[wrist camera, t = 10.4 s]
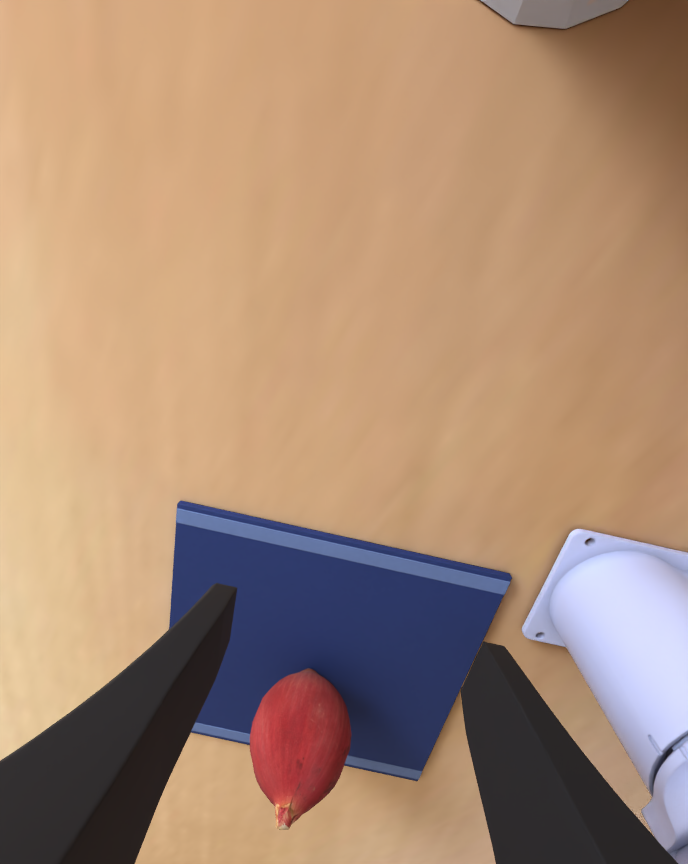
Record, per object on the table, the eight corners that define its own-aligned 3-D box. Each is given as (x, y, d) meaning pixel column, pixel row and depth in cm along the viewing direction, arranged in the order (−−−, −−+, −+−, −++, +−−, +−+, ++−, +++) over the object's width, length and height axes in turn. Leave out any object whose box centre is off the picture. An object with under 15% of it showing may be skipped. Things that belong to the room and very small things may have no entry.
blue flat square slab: (509, 573, 22) (512, 578, 21) (417, 775, 28) (417, 782, 28) (180, 500, 22) (176, 504, 21) (165, 720, 28) (162, 727, 28)
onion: (370, 672, 25) (371, 835, 17) (317, 713, 26) (296, 878, 19) (303, 626, 24) (272, 777, 16) (252, 672, 25) (203, 828, 18)
